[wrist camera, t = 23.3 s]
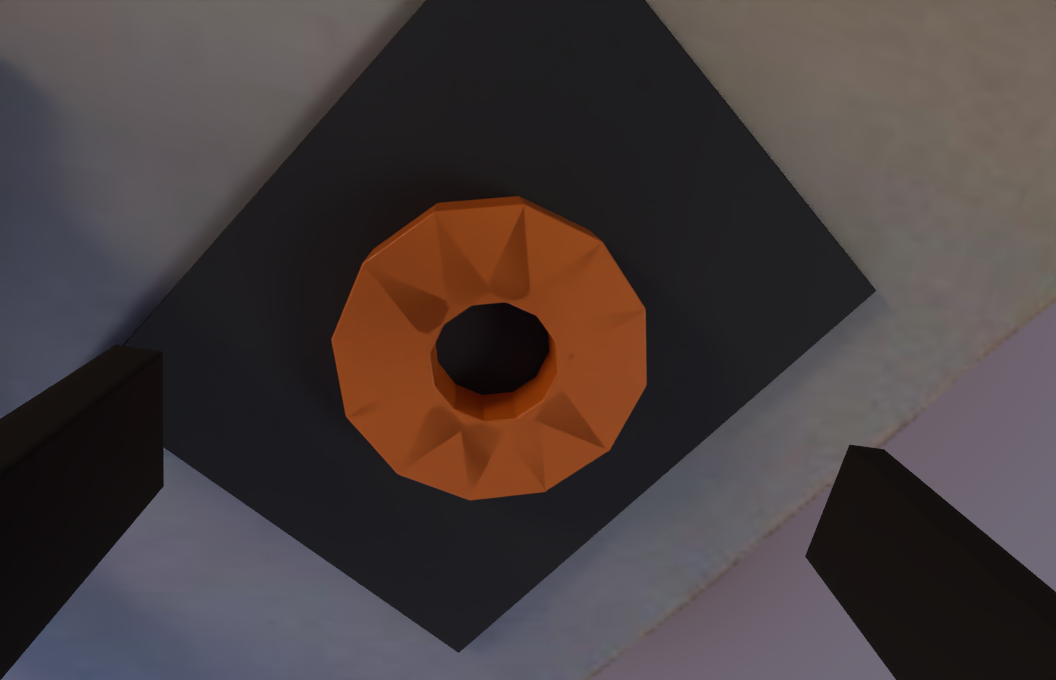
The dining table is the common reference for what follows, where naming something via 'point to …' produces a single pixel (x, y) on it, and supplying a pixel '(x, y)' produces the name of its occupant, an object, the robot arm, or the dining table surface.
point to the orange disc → (504, 418)
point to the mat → (500, 328)
